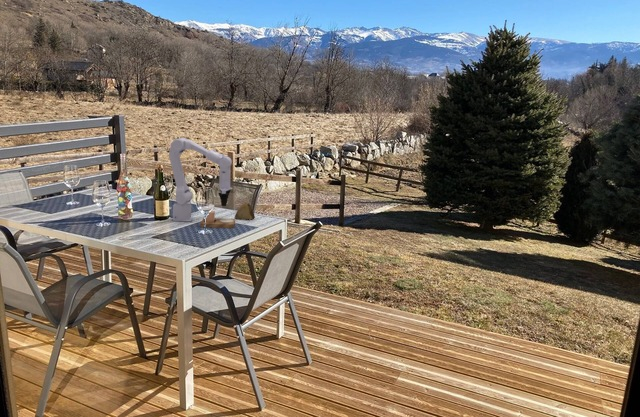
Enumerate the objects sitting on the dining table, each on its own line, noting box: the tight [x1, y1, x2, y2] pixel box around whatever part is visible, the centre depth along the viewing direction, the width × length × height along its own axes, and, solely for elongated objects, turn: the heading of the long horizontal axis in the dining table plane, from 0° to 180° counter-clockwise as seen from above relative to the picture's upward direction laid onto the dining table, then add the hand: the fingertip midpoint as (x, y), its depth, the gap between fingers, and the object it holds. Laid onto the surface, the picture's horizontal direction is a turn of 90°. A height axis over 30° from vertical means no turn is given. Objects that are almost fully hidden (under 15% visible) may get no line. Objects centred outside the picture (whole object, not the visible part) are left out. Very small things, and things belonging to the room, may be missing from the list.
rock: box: [234, 202, 256, 220], centre depth 267 cm, size 11×9×10 cm
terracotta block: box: [205, 210, 216, 222], centre depth 250 cm, size 4×4×7 cm
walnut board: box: [199, 217, 236, 229], centre depth 251 cm, size 17×12×2 cm
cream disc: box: [220, 218, 234, 223], centre depth 251 cm, size 7×7×1 cm
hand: (224, 204), depth 254 cm, fingers open, 7 cm apart
